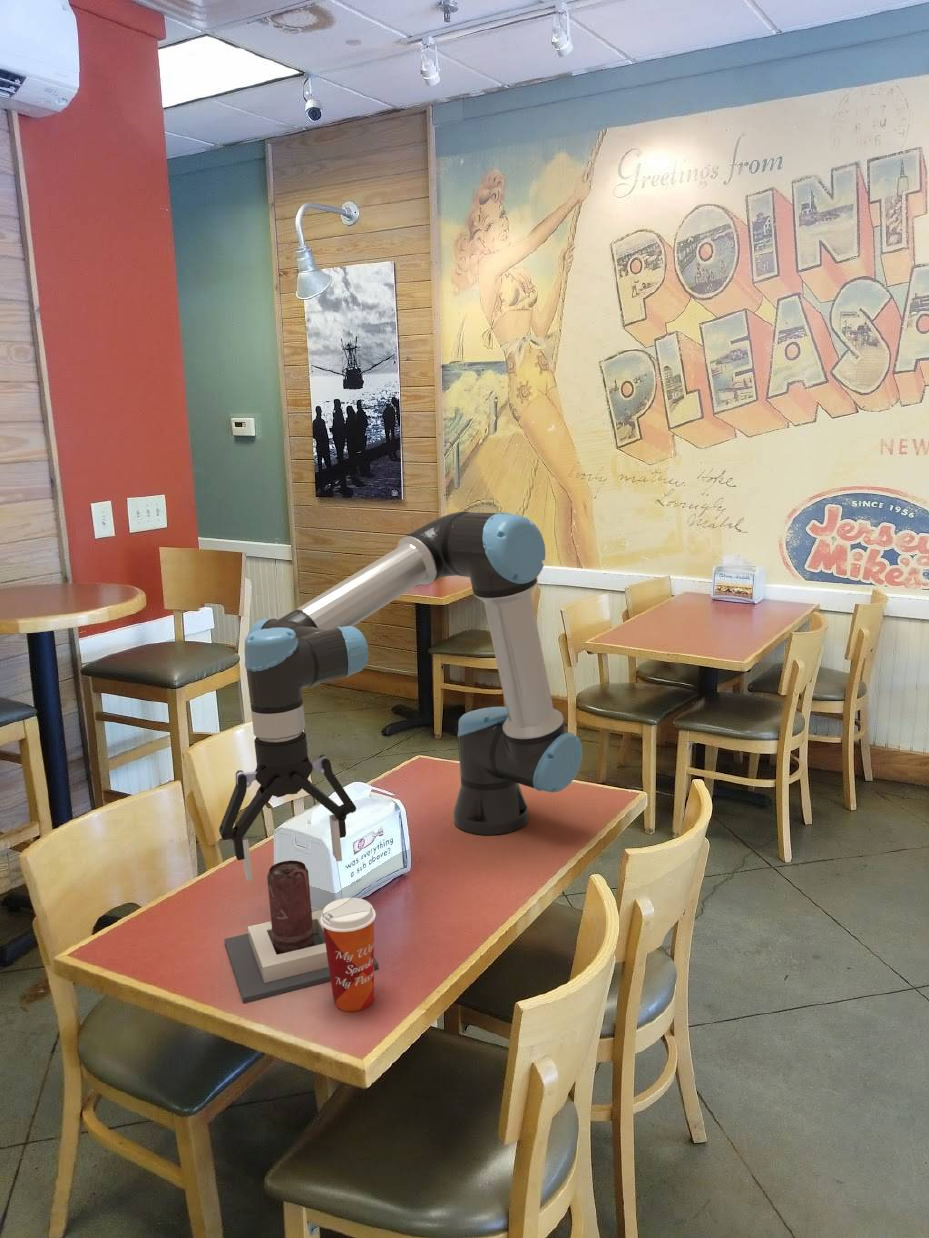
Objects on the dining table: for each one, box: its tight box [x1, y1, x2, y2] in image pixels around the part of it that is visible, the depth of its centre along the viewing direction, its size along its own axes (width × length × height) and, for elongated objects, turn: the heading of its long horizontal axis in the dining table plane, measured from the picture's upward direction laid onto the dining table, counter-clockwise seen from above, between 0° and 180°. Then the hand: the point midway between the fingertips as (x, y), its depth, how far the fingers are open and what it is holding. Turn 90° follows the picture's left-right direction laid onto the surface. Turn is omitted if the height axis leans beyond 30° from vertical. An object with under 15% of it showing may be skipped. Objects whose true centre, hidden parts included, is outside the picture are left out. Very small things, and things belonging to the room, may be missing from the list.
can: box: [266, 860, 314, 955], centre depth 147 cm, size 6×6×14 cm
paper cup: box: [320, 897, 377, 1013], centre depth 135 cm, size 8×8×14 cm
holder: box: [247, 908, 329, 983], centre depth 148 cm, size 13×13×2 cm
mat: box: [223, 933, 379, 1004], centre depth 149 cm, size 20×18×1 cm
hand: (293, 867), depth 146 cm, fingers open, 13 cm apart
